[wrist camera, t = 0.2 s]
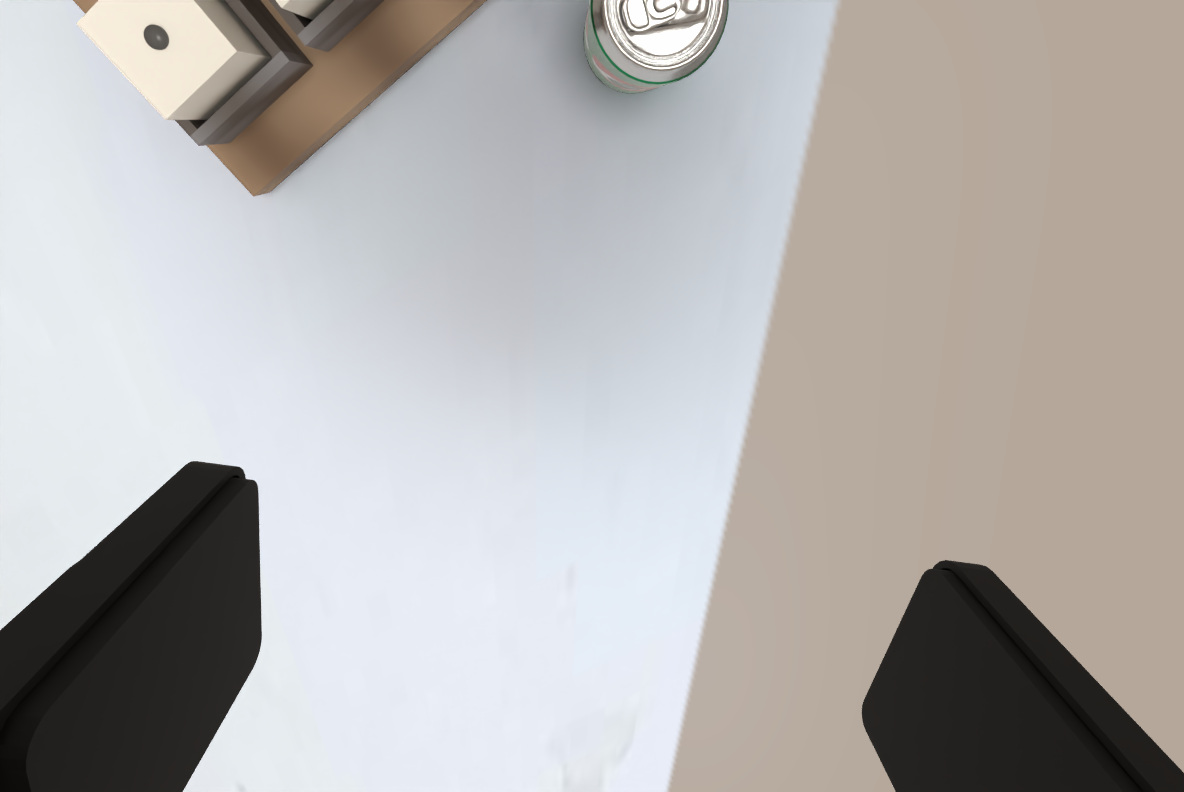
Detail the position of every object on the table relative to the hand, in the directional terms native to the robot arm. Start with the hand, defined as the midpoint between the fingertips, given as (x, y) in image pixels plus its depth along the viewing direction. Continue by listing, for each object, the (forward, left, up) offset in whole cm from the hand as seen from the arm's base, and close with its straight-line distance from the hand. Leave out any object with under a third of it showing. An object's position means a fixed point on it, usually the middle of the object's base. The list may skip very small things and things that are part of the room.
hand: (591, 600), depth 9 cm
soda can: (-8, -6, -31) cm, 33 cm away
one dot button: (+8, -17, -27) cm, 33 cm away
